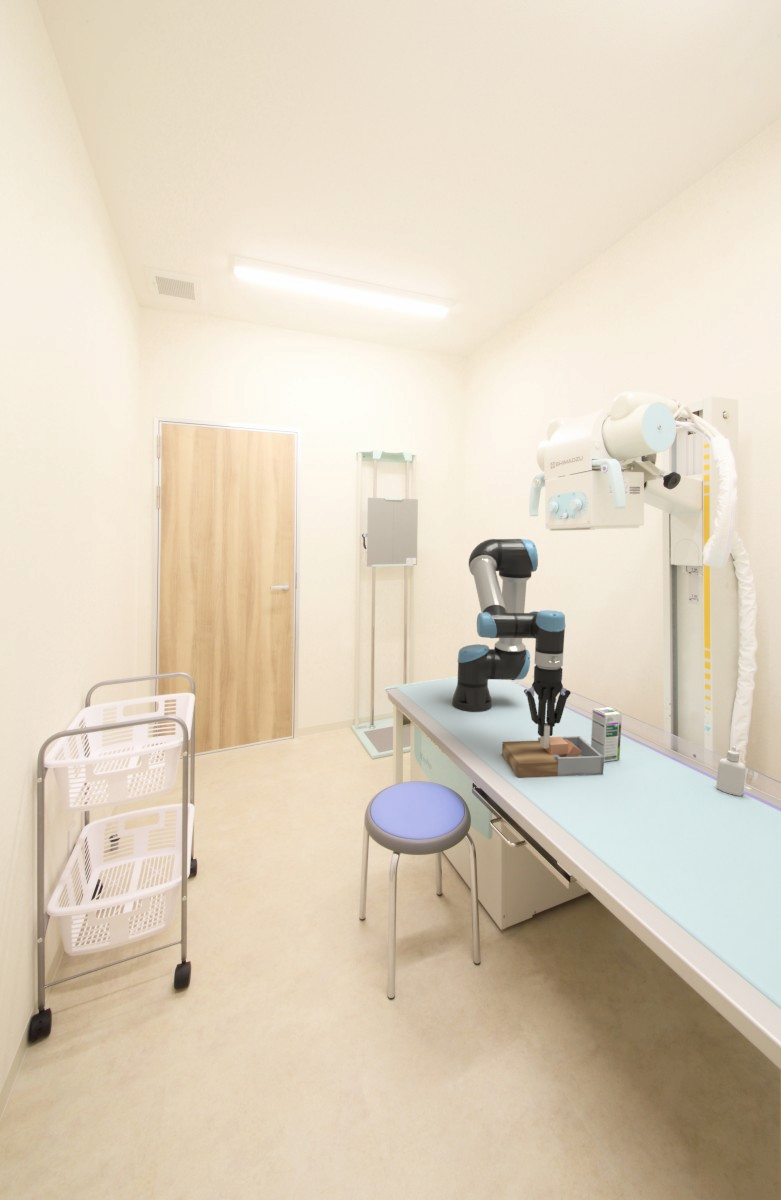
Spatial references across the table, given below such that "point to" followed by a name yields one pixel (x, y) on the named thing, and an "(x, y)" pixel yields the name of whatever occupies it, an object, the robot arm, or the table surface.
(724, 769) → the eye dropper bottle
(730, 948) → the table surface
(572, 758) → the bin
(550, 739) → the tile
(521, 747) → the board
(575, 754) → the tile
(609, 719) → the syrup box
